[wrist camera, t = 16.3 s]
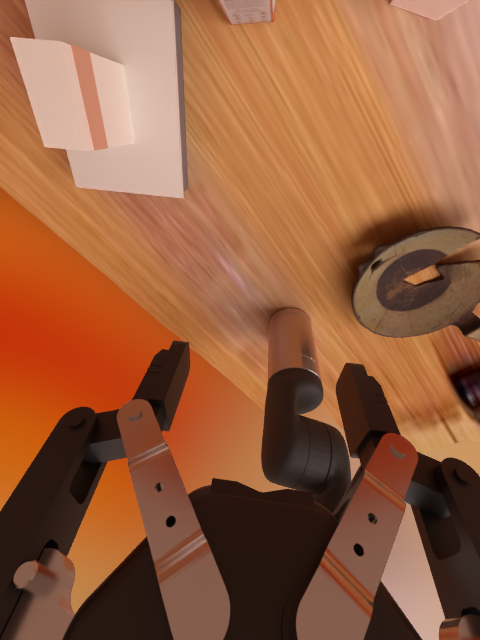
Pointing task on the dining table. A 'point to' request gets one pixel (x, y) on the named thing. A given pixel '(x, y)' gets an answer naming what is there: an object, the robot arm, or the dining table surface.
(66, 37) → the plate
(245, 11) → the cracker box
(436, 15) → the milk
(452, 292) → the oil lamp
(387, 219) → the dining table surface
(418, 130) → the dining table surface
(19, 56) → the cream carton
